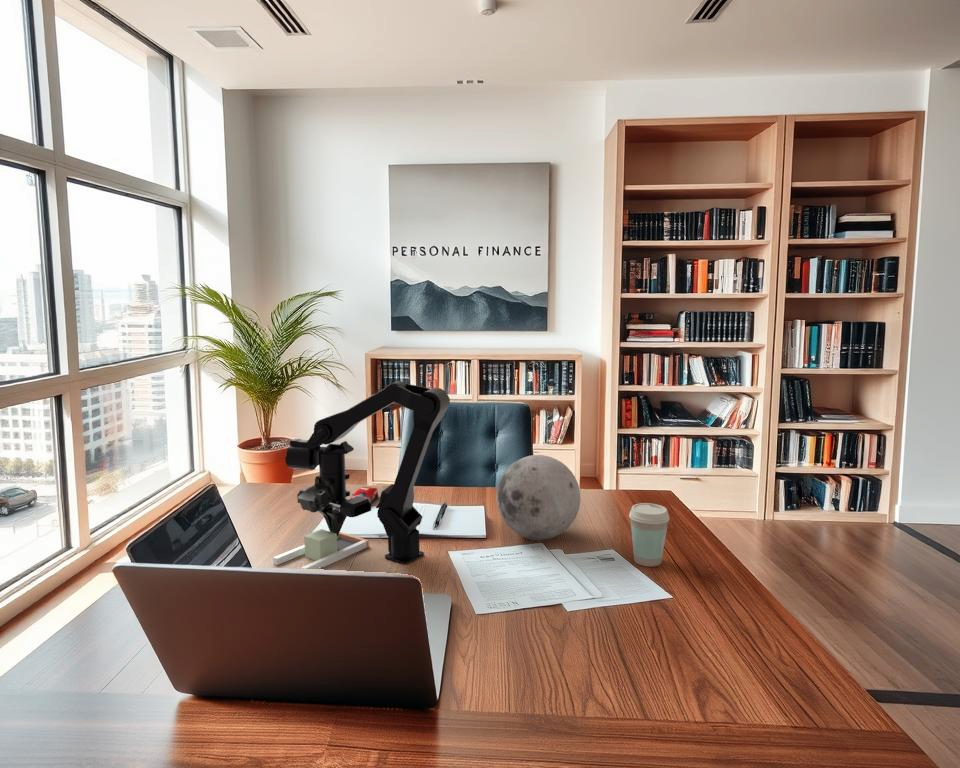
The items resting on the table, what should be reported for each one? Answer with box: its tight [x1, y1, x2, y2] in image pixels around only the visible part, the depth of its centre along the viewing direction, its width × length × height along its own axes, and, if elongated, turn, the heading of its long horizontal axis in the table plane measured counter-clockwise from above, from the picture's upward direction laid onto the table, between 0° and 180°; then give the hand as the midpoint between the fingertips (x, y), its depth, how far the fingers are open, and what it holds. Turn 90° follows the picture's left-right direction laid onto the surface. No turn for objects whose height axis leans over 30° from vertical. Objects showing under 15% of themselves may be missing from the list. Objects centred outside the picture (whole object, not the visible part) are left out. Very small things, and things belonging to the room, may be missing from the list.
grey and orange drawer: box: [337, 531, 370, 551], centre depth 150 cm, size 10×6×2 cm, turn 55°
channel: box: [272, 535, 367, 570], centre depth 145 cm, size 10×18×2 cm, turn 145°
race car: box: [349, 486, 379, 504], centre depth 181 cm, size 13×5×4 cm, turn 166°
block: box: [303, 528, 337, 561], centre depth 144 cm, size 5×5×5 cm
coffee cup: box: [628, 502, 670, 567], centre depth 140 cm, size 8×8×12 cm
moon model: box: [496, 454, 581, 541], centre depth 154 cm, size 20×20×20 cm
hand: (334, 536), depth 148 cm, fingers closed
